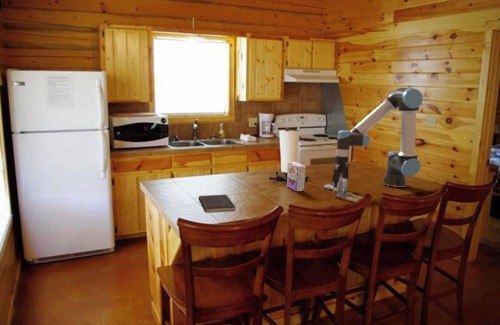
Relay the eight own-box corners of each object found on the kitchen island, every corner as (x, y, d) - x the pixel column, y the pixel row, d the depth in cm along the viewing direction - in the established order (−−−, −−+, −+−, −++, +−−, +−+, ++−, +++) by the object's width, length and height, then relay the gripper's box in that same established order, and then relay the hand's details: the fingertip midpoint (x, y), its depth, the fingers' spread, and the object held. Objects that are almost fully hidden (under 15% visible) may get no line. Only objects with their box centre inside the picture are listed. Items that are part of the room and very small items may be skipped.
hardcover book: (226, 198, 232) (226, 194, 231) (235, 210, 210) (235, 206, 209) (198, 199, 227) (198, 195, 227) (205, 212, 206) (205, 208, 205)
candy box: (286, 186, 258) (287, 161, 254) (294, 186, 260) (295, 161, 257) (296, 192, 245) (297, 166, 242) (304, 192, 247) (306, 165, 244)
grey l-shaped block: (328, 187, 260) (329, 175, 258) (346, 191, 251) (347, 179, 249) (323, 189, 255) (323, 176, 253) (341, 193, 246) (342, 180, 245)
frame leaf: (353, 197, 238) (353, 193, 237) (363, 200, 233) (364, 196, 233) (345, 200, 231) (345, 196, 231) (356, 203, 227) (357, 199, 226)
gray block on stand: (341, 195, 242) (343, 177, 239) (352, 197, 237) (353, 179, 235) (335, 197, 236) (337, 179, 234) (346, 200, 232) (347, 181, 230)
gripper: (345, 152, 256) (342, 186, 261) (327, 156, 241) (325, 193, 245) (356, 154, 252) (353, 189, 256) (338, 158, 236) (336, 195, 240)
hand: (339, 191), depth 251 cm, fingers open, 9 cm apart
